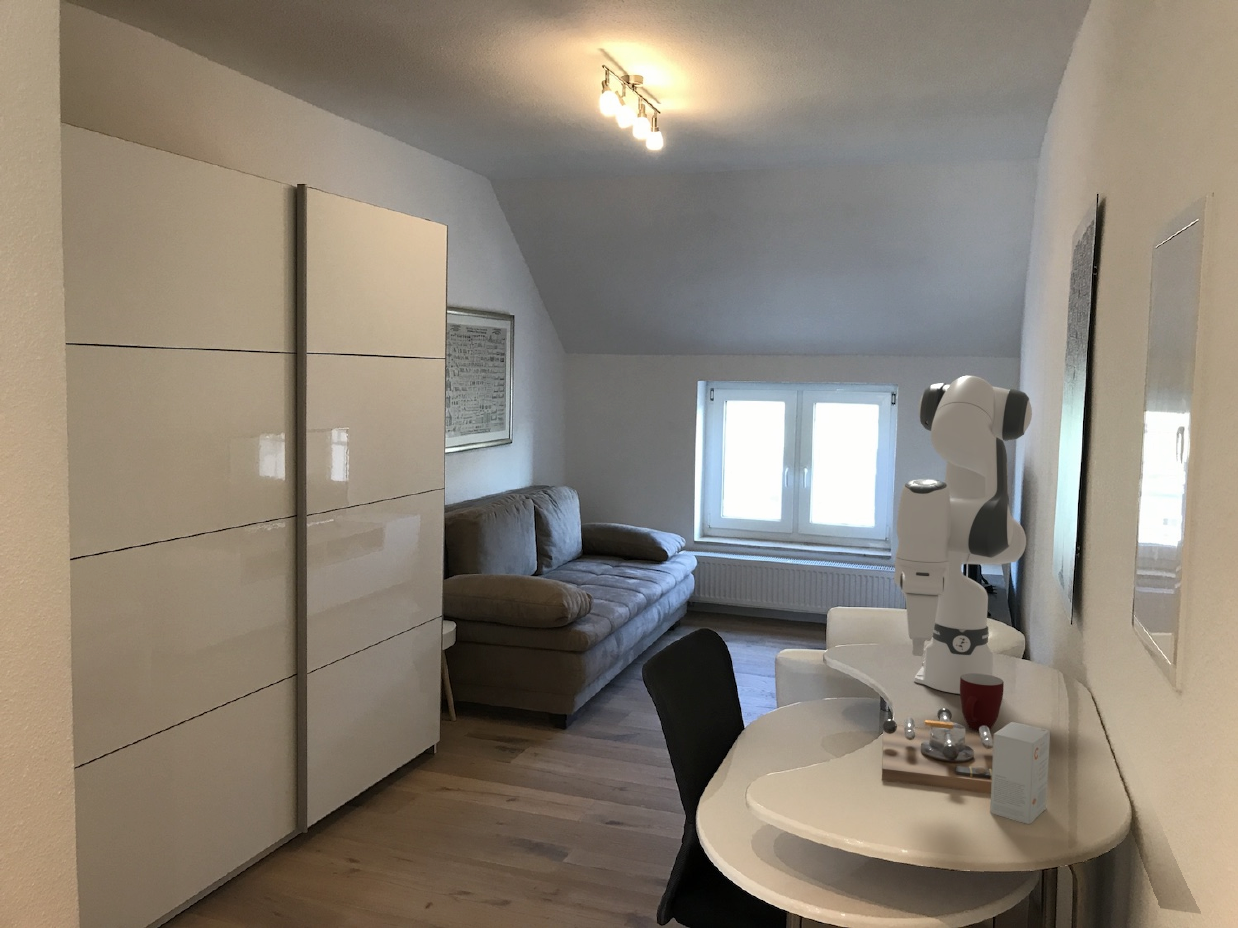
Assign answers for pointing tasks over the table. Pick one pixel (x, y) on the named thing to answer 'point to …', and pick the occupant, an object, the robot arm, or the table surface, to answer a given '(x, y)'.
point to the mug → (980, 699)
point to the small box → (1020, 772)
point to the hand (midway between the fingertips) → (917, 653)
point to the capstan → (943, 738)
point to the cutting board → (935, 763)
